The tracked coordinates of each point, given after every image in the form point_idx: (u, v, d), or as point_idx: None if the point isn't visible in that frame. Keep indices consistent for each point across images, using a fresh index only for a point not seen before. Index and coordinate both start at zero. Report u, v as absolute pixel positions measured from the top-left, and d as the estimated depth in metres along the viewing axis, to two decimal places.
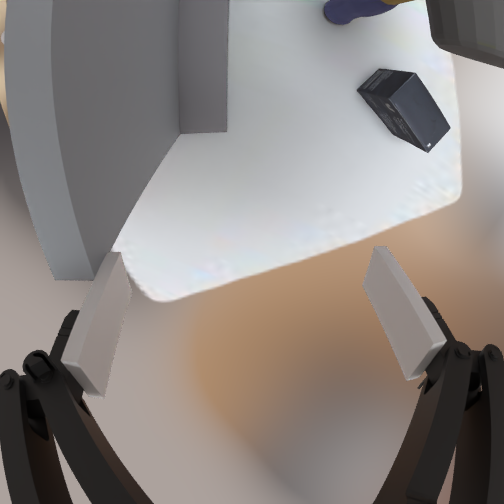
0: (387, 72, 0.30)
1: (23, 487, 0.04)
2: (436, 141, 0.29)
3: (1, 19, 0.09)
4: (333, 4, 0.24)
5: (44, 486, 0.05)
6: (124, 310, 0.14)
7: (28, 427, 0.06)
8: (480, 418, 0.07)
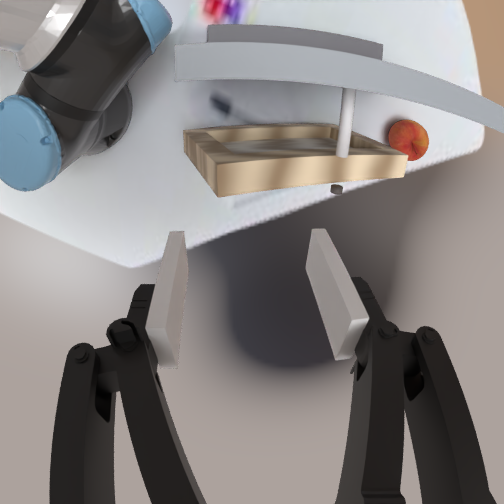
0: None
1: (69, 466, 0.05)
2: None
3: (320, 162, 0.27)
4: None
5: (93, 469, 0.06)
6: (185, 286, 0.15)
7: (93, 407, 0.07)
8: (429, 408, 0.08)
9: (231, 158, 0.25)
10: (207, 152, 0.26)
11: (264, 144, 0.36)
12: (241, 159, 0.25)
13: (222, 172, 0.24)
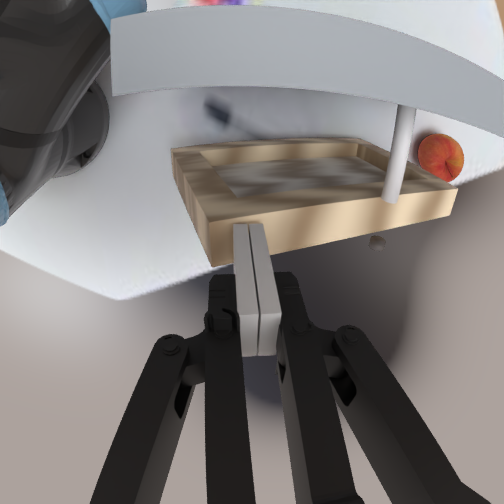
0: None
1: (130, 459, 0.06)
2: None
3: (359, 208, 0.19)
4: None
5: (154, 466, 0.06)
6: None
7: (172, 403, 0.08)
8: (369, 414, 0.08)
9: (232, 207, 0.17)
10: (196, 193, 0.18)
11: (277, 168, 0.28)
12: (247, 209, 0.17)
13: (218, 232, 0.16)
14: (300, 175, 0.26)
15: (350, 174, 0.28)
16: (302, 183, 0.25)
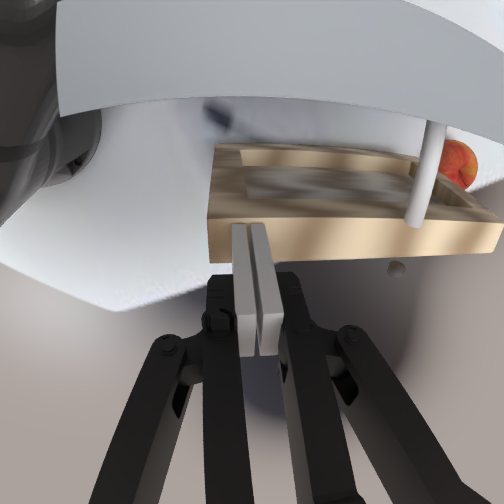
0: None
1: (128, 459, 0.06)
2: None
3: (378, 228, 0.17)
4: None
5: (153, 466, 0.06)
6: None
7: (170, 403, 0.08)
8: (370, 413, 0.08)
9: (237, 207, 0.17)
10: (212, 190, 0.19)
11: (316, 176, 0.26)
12: (250, 211, 0.17)
13: (215, 230, 0.16)
14: (337, 186, 0.25)
15: (392, 192, 0.25)
16: (335, 194, 0.23)
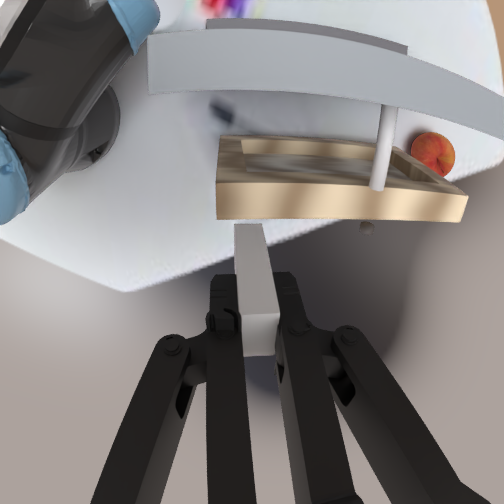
0: None
1: (131, 459, 0.06)
2: None
3: (349, 193, 0.22)
4: None
5: (155, 466, 0.06)
6: None
7: (174, 403, 0.08)
8: (368, 414, 0.08)
9: (238, 176, 0.22)
10: (219, 166, 0.24)
11: (304, 161, 0.31)
12: (248, 179, 0.22)
13: (222, 192, 0.21)
14: (321, 168, 0.30)
15: (369, 173, 0.30)
16: None
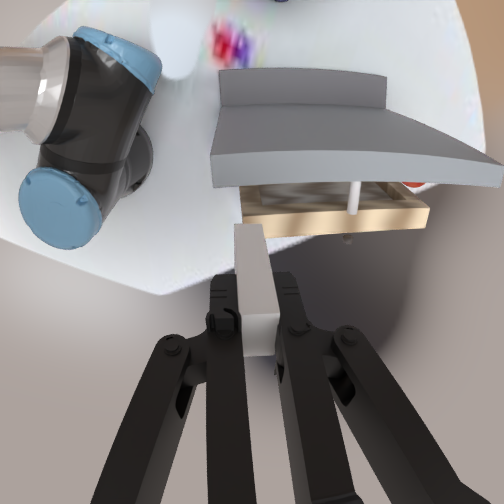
0: None
1: (131, 459, 0.06)
2: None
3: (333, 216, 0.32)
4: None
5: (155, 466, 0.06)
6: None
7: (173, 403, 0.08)
8: (368, 414, 0.08)
9: (257, 210, 0.33)
10: (242, 201, 0.35)
11: (304, 187, 0.42)
12: (264, 211, 0.32)
13: (247, 222, 0.32)
14: (316, 192, 0.40)
15: None
16: (314, 198, 0.39)
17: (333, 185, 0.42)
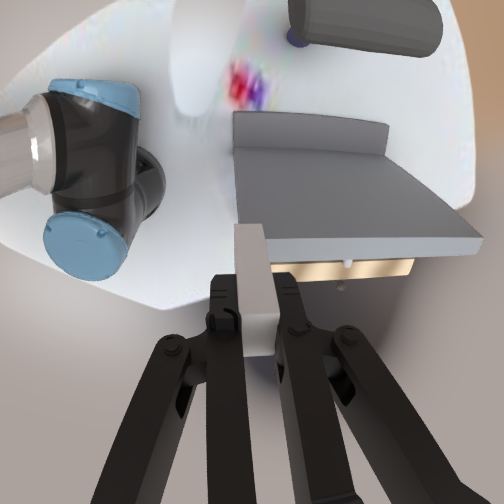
0: None
1: (131, 459, 0.06)
2: None
3: (330, 266, 0.38)
4: (301, 44, 0.35)
5: (155, 466, 0.06)
6: None
7: (173, 403, 0.08)
8: (368, 414, 0.08)
9: None
10: None
11: None
12: None
13: None
14: None
15: None
16: None
17: None
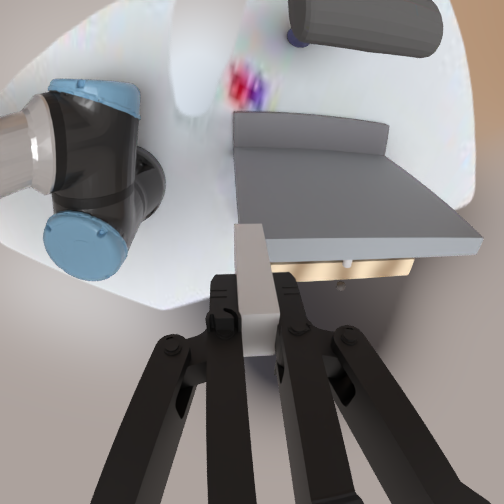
0: None
1: (131, 459, 0.06)
2: None
3: (330, 267, 0.38)
4: (301, 44, 0.35)
5: (155, 466, 0.06)
6: None
7: (173, 403, 0.08)
8: (368, 414, 0.08)
9: None
10: None
11: None
12: None
13: None
14: None
15: None
16: None
17: None
